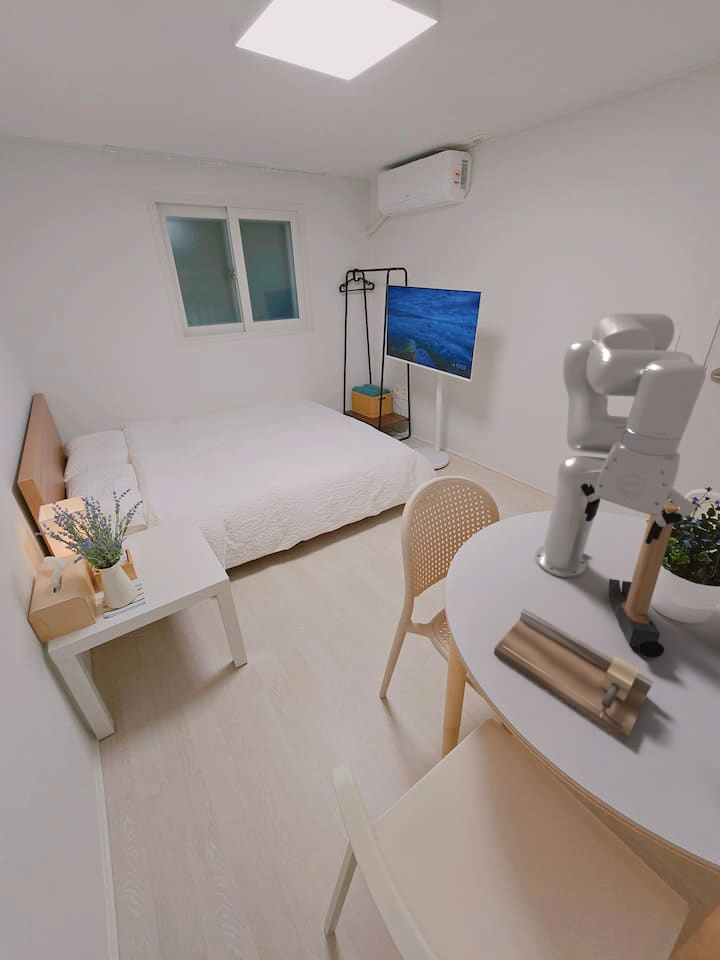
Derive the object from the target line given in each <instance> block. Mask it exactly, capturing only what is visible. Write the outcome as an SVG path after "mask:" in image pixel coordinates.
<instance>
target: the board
mask: <svg viewBox="0 0 720 960" xmlns="http://www.w3.org/2000/svg"><path fill="white" fill-rule="evenodd" d="M493 654H494V655H496V656H497V657H499V658H500V659H501V660H503V661H504V662H506V663H508V665H510V666H512V667H513V668H514V669H516V670H518V671H520V672H521V673H523V674H524V675H526V676H527V677H529V679H532V680H533V681H534V682H535V683H537V684H539V685H540V686H541V687H543V688H545V689H546V690H548V691H549V692H551V693H552V694H554V695H555V696H556V697H558V698H560V700H563V701H564V702H566V703H567V704H568V705H570V706H572V707H573V708H574V709H576V710H578V711H579V712H580V713H582V714H584V715H585V716H586V717H587V718H589V719H591V720H592V721H594V722H595V723H597V724H598V725H600V726H601V727H602V728H604V729H606V730H607V731H608V732H610V733H612V734H613V735H614V736H616V737H617V738H619V739H620V740H622V741H624V742H625V743H626V742H627V740H628V739H629V736H630V735H631V732H632V731H633V727H634V725H635V723H636V720H637V719H638V716H639V714H640V711H641V710H642V707H643V705H644V702H645V701H646V698H647V696H648V693H649V691H650V689H651V687H652V685H653V684H654V681H653V680H652V679H650V678H648V677H646V676H644V675H642V674H641V673H639V672H638V673H637V676H636V678H635V680H634V682H633V684H632V686H631V688H630V690H629V692H628V694H627V696H626V698H625V701H623V700H621V699H620V698H618V697H615V699H614V701H613V703H612V705H611V707H610V708H609V709H608V708H607V709H606V711H605V712H603V711H602V708H603V705H602V701H603V699H604V697H605V695H606V693H607V690H605V689H603V688H602V687H601V684H602V682H603V680H604V677H605V675H606V673H607V670H608V669H609V667H610V665H611V663H612V661H613V660H614V658H613V657H610V656H609V655H607V654H606V653H603V652H602V651H600V650H598V649H597V648H595V647H593V646H592V645H589V644H588V643H586V642H584V641H583V640H581V639H579V638H578V637H577V638H576V637H575V636H574V635H572V634H570V633H568V632H566V631H564V630H563V629H561V628H559V627H558V626H556V625H554V624H552V623H551V622H549V621H547V620H545V619H543V618H541V617H540V616H538V615H536V614H535V613H533V612H531V611H529V610H527V609H525V608H523V609H522V610H521V612H520V617H519V619H518V620H517V622H515V624H514V625H513V626H512V628H511V629H510V630H509V631H507V633H506V634H505V635H504V637H503V638H501V640H499V642H498V643H497V644H496V646H495V647H494V650H493Z"/></svg>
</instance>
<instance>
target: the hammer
mask: <svg viewBox="0 0 720 960" xmlns="http://www.w3.org/2000/svg"><path fill="white" fill-rule="evenodd" d="M665 508H666V510H667V512H668V513H672V512H675V511H678V510H679V507H678V506H677V505H676V504H674V503H673V502H669V501H668V502H667V503H666V505H665ZM654 521H655V519H654V517H653V515H650V514H649V517H648V521H647V525H646V528H645V533H644V536H643V540H642V544H641V547H640V550H639V551H640V552H639V554H638V559H637V561H636V565H635V568H634V573H633V576H632V580H631V581H627V580H622V585H621V584H620V583H621V582H620V581H621V580H619V579H612V578H608V595H609V596H608V598H609V602H610V605H611V607H612V609H613V612H614V615H615V617H616V620H617V622H618V625H619V628H620V629H621V632H622V634H623V636H624V638H625V640H626V641H627V643H628V646H632V647H637V651H638V653H639V654H640V655H641V656H642V657H644V658H645V657H646V658H650V659H656V658H659V657H661V656H662V655H663V654H664V653H665V647H664V646H663V645H662V643H660V642H659V640H660V639H659V638H660V636H661V632H660V630H659V629H658V627H657V626H656V625H655V623H654V622H653V621H652V619H651V618H650V616H649V614H648V612H649V609H650V606H651V602H652V598H653V594H654V591H655V588H656V585H657V582H658V578H659V575H660V572H661V568H662V564H663V561H664V558H665V556H666V555H665V554H666V551H667V547H668V544H669V540H670V537H671V534H672V530H673V528H674V523H675V522H674V523H671V524H667V525H666V526H664V528H663V530H662V532H661V535H660V537H659V539H658V540H655V539H653V540H652V542H651V543H650V545H649V544H646V542H645V541H646V539H647V536H648V534H649V531H650V529H651V526H652V524H653V523H654Z"/></svg>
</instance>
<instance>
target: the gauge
mask: <svg viewBox="0 0 720 960" xmlns="http://www.w3.org/2000/svg"><path fill="white" fill-rule="evenodd" d="M613 659H614V660H613V661H612V663H611V665H610V667H609V669H608V670H607V673H606V675H605V677H604V680H603V682H602V684H601V687H602V688H603V689H605V690H607V693H606V695H605V697H604V699H603V701H602V705H603V708H602V711H603V712H605V711H606V709H607V708H608V709H609V708H610V707H611V705H612V703H613V701H614V699H615V697H618V698H620V699H621V700H623V701H625V698H626V696H627V694H628V692H629V690H630V688H631V686H632V684H633V682H634V680H635V678H636V676H637V673H639V672H640V669H637V668H636V667H634V666H632V665H631V664H629V663H627V662H625V661H624V660H622V659H620V658H619V657H617V656H614V658H613Z"/></svg>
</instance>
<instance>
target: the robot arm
mask: <svg viewBox="0 0 720 960" xmlns="http://www.w3.org/2000/svg"><path fill="white" fill-rule="evenodd" d="M674 336H675V325H674V322H673V320H672V319H671V317H669V316H668V315H666V314H662V313H644V312H643V313H638V312H637V313H634V312H633V313H631V312H630V313H629V312H628V313H626V312H625V313H623V312H622V313H621V312H620V313H614V314H611V315H607V316H605V317H603V318H602V319H600V320H599V321H598V322H597V323H596V325H595V326H594V328H593V330H592V335H591V339H589V340H580V341H577V342H573V344H571V345H570V346H569V347H568V348H567V349H566V352H565V354H564V357H563V364H562V365H563V366H562V367H563V368H562V373H563V381H564V385H565V389H566V391H567V397H568V411H567V412H568V414H567V428H566V441H567V442H566V443H567V447H568V448H569V449H571V450H572V451H575V452H576V453H586V454H592V455H593V454H594V455H595V454H596V455H602V456H607V457H599V456H588V455H586V456H585V455H574V456H569V457H566V458H564V459H563V460H562V461H561V462H560V464H559V466H558V470H557V481H556V482H557V484H556V491H555V498H554V503H553V508H552V511H551V515H550V520H549V524H548V527H547V532H546V535H545V540H544V542H543V545H542V546H541V547H538V549H536V552H535V554H534V559H535V562H536V563H537V564H538V566H539V567H541V569H543V570H544V571H546V572H547V573H549V574H551V575H554V576H557V577H561V578H562V577H563V578H570V579H571V578H577V577H579V576H581V575H583V574H584V573H585V571H586V568H587V564H586V561H585V559H584V558H583V554H584V552H585V550H586V549H585V548H586V546H587V542H588V539H589V535H590V533H591V529H592V526H593V523H594V521H595V517H596V516H597V512H598V508H599V505H600V503H601V499H602V500H604V501H607V502H610V503H612V504H616V505H619V506H621V507H625V508H628V509H631V510H633V511H635V512H636V511H637V512H640V513H643V514H647V515H649V516H650V515H653V517H654V519H655V521H654V523H653V524H652V526H651V529H650V531H649V534H648V536H647V539H646V541H645V542H646V544H649V545H650V543H651V542H652V540H653V539H655V540H658V539H659V537H660V535H661V532H662V530H663V528H664V526H666V525H667V524H671V523H678V522H680V521H681V520H683V519H685V518H686V517H688V516H690V515H691V514H693V513H694V512H695V510H696V505H695V504H694V503H692V502H691V501H689V500H688V499H687V498H686V497H684V495H682V494H680V493H679V492H678V491H677V490H675V489H674V486H675V482H676V479H677V475H678V472H679V467H680V460H681V454H680V453H679V452H678V449H679V446H680V445H681V442H682V439H683V436H684V434H685V432H686V429H687V425H688V423H689V421H690V418H691V415H692V414H693V411H694V408H695V406H696V403H697V401H698V398H699V396H700V393H701V390H702V389H703V385H704V383H705V380H706V377H707V372H706V369H705V367H704V366H702V365H701V364H698V363H697V362H695V361H694V359H693V357H692V356H691V355H690V354H688V353H686V352H682V351H675V350H674V351H672V350H668V349H669V348H670V346H671V344H672V342H673V339H674ZM608 396H615V397H617V396H618V397H634V399H633V402H632V406H631V409H630V411H629V412H630V413H629V414H628V416H617V415H610V414H609V413H608V405H609V404H608V403H609V401H608V400H609V399H608ZM669 501H671V503H674V504H676V505H677V506H678V511H675V512H672V513H668V512H667V510H666V508H665V505H666V503H667V502H669Z"/></svg>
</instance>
